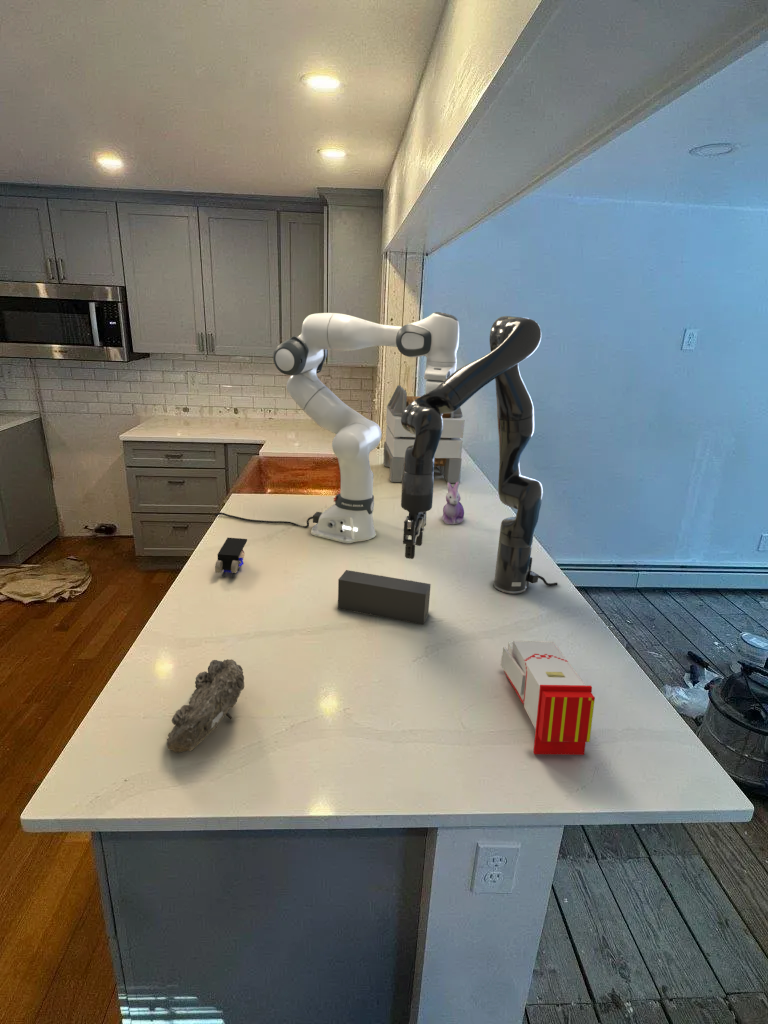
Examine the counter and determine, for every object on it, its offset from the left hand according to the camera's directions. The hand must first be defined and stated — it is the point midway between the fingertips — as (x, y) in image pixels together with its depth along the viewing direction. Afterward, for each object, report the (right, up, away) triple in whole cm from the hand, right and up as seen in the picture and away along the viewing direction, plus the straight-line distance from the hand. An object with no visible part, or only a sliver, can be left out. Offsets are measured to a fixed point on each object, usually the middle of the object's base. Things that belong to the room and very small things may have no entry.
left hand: (436, 418), depth 171 cm
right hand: (-8, -38, -30) cm, 49 cm away
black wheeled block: (-61, -45, -3) cm, 76 cm away
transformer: (+1, -9, +104) cm, 105 cm away
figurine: (+10, -32, +44) cm, 55 cm away
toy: (+15, -68, -56) cm, 89 cm away
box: (-16, -54, -22) cm, 61 cm away
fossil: (-49, -67, -63) cm, 104 cm away
